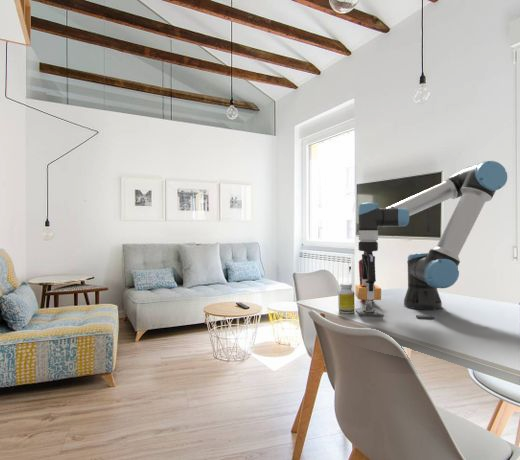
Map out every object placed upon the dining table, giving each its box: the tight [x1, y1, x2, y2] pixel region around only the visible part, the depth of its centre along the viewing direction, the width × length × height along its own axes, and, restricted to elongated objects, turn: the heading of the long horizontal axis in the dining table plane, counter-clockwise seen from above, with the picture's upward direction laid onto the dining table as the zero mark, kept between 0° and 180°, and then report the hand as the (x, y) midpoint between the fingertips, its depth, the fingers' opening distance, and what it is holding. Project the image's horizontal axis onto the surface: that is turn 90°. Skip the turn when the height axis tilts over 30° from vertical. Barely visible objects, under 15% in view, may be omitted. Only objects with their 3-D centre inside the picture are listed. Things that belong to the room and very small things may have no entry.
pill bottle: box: [337, 282, 356, 314], centre depth 147 cm, size 6×6×12 cm
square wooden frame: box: [354, 284, 382, 301], centre depth 144 cm, size 8×8×4 cm
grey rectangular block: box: [415, 314, 436, 320], centre depth 136 cm, size 6×2×1 cm, turn 84°
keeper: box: [355, 300, 385, 318], centre depth 144 cm, size 11×9×8 cm
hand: (368, 297), depth 144 cm, fingers closed on square wooden frame, 8 cm apart
